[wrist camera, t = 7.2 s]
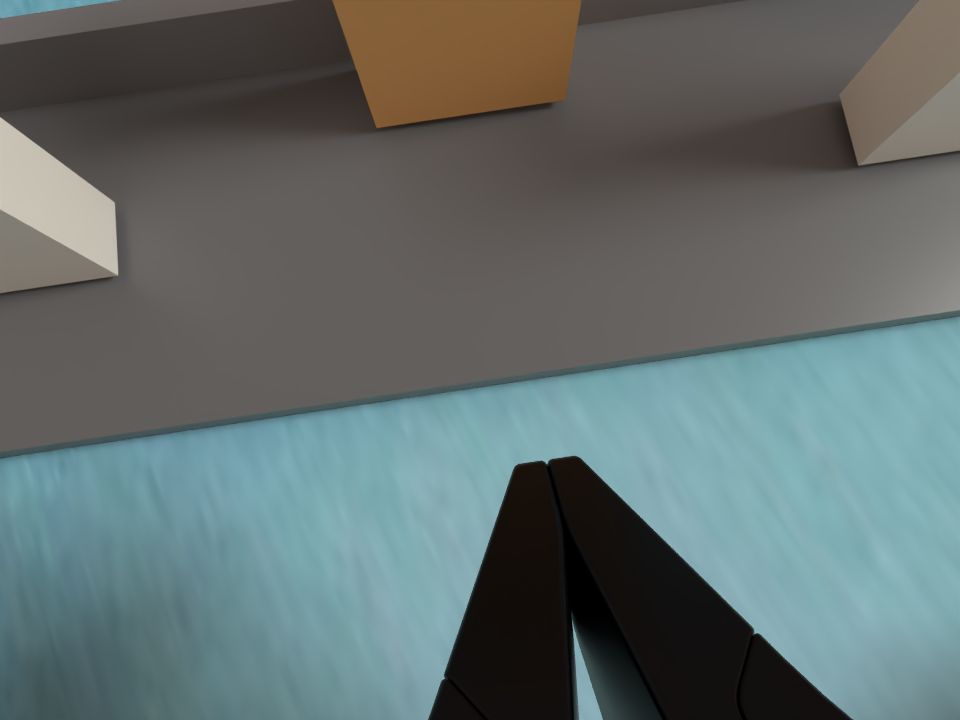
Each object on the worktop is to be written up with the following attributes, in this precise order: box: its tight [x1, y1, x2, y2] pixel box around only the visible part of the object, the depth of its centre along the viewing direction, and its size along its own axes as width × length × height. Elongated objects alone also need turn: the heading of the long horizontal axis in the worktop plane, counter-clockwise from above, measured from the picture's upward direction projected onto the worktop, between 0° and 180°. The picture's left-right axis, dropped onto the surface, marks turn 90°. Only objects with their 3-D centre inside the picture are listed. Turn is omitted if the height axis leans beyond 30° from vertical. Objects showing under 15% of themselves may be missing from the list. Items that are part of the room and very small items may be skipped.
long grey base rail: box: [0, 0, 960, 458], centre depth 17 cm, size 10×34×4 cm, turn 98°
